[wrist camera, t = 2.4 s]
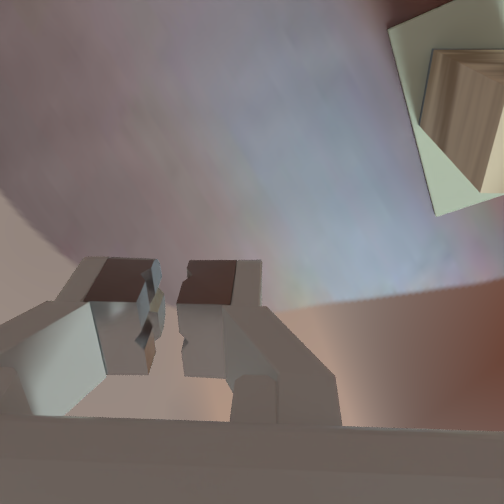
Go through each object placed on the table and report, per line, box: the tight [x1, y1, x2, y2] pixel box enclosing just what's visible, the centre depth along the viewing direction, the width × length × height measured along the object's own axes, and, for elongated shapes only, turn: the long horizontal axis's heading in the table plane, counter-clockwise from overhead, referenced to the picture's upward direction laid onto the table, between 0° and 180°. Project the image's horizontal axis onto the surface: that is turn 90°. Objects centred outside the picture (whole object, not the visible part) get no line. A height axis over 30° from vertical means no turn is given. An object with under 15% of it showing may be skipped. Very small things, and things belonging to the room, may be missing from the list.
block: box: [418, 49, 504, 193], centre depth 29 cm, size 6×6×13 cm
